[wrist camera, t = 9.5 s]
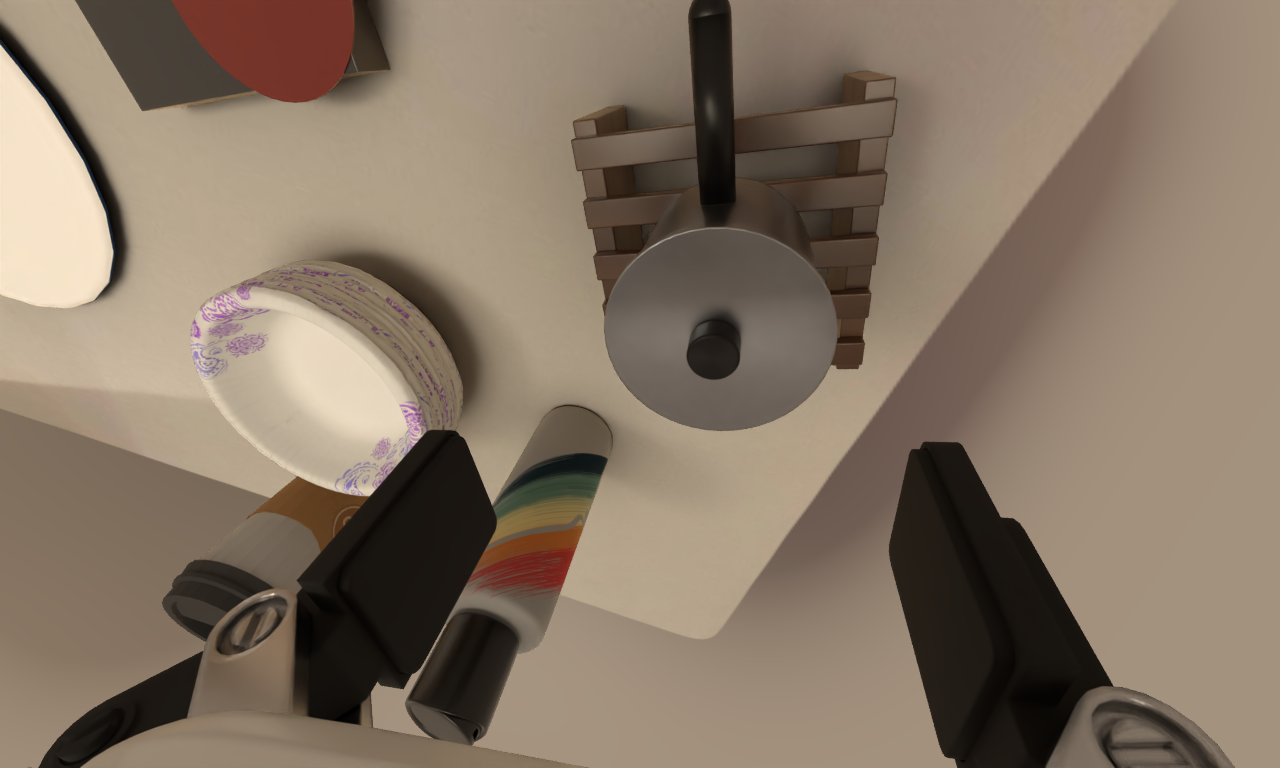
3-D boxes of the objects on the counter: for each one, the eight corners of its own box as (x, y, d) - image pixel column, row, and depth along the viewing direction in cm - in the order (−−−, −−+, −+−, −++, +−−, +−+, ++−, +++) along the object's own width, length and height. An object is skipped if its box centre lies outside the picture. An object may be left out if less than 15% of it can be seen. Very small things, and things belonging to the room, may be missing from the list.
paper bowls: (284, 199, 31) (158, 240, 24) (508, 309, 32) (445, 376, 25) (289, 373, 39) (198, 437, 33) (463, 454, 41) (408, 530, 34)
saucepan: (654, 336, 24) (615, 447, 17) (613, 18, 17) (522, 1, 10) (810, 332, 22) (831, 453, 16) (832, -22, 15) (888, -74, 9)
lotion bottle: (605, 470, 39) (496, 776, 22) (537, 448, 39) (379, 737, 23) (620, 418, 35) (506, 733, 19) (545, 393, 35) (368, 687, 19)
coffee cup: (414, 509, 47) (293, 671, 35) (335, 493, 48) (192, 645, 36) (392, 444, 42) (243, 606, 30) (305, 428, 43) (128, 578, 31)
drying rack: (605, 107, 24) (567, 123, 19) (868, 70, 21) (900, 77, 16) (638, 324, 31) (615, 377, 26) (842, 318, 28) (860, 376, 23)
